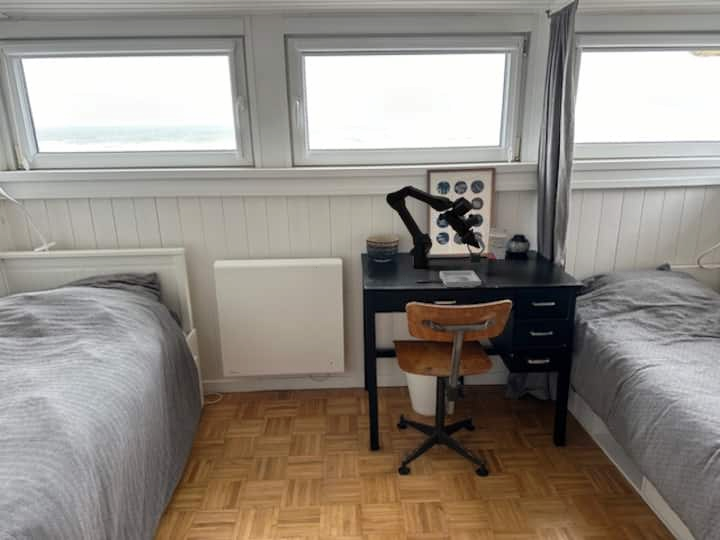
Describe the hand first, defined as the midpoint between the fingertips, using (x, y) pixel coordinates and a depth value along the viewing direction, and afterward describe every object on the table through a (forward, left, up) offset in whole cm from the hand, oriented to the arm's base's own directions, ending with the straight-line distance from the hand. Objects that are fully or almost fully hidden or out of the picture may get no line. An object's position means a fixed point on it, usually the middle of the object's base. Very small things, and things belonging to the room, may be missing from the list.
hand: (479, 246), depth 217 cm
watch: (-1, 0, -7) cm, 7 cm away
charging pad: (-16, -11, -12) cm, 23 cm away
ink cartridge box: (+15, +24, -13) cm, 31 cm away
